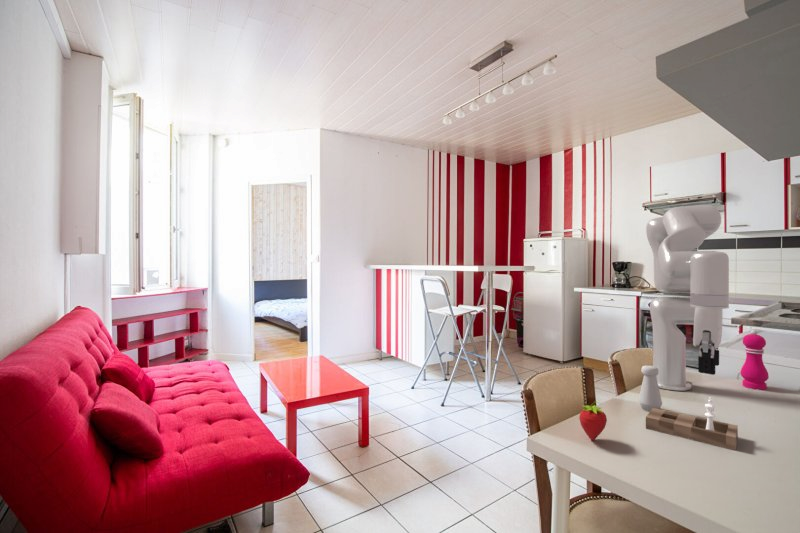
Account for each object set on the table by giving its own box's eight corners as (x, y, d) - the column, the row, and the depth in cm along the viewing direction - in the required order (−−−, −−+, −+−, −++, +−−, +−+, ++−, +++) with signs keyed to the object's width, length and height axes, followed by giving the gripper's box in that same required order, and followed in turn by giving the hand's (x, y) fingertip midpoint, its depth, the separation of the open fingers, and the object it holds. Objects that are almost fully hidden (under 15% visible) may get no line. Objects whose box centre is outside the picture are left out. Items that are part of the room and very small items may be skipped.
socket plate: (653, 418, 109) (653, 407, 109) (737, 437, 96) (737, 425, 96) (645, 428, 102) (645, 417, 102) (735, 450, 90) (735, 437, 90)
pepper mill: (754, 383, 138) (753, 328, 138) (774, 390, 131) (774, 331, 131) (735, 384, 138) (734, 328, 138) (754, 390, 130) (754, 332, 130)
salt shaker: (655, 406, 118) (654, 363, 118) (666, 413, 112) (665, 369, 112) (635, 405, 118) (634, 363, 118) (645, 413, 113) (644, 368, 112)
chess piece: (695, 436, 97) (695, 397, 97) (700, 431, 100) (700, 393, 100) (720, 443, 93) (720, 402, 93) (725, 437, 96) (724, 397, 96)
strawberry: (611, 439, 96) (611, 399, 96) (599, 449, 91) (599, 407, 91) (587, 431, 101) (586, 393, 101) (574, 441, 96) (574, 400, 96)
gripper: (695, 297, 105) (695, 359, 106) (685, 303, 93) (685, 374, 93) (731, 298, 100) (731, 364, 101) (725, 306, 88) (725, 380, 88)
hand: (709, 368), depth 97 cm, fingers open, 9 cm apart
